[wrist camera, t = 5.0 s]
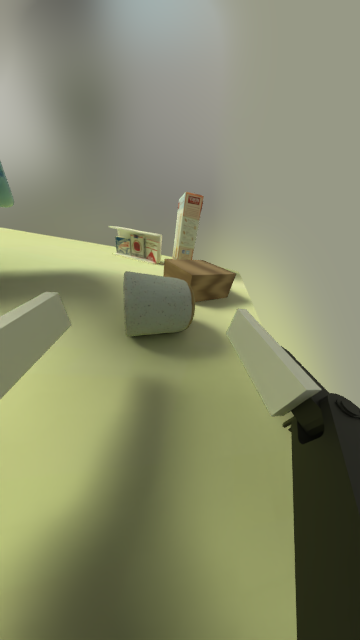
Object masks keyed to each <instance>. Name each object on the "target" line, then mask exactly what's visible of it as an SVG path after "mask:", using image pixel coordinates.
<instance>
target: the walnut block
mask: <svg viewBox="0 0 360 640" xmlns="http://www.w3.org/2000/svg"><path fill="white" fill-rule="evenodd" d="M235 275H236V274H235V273H233V272H230V271H228V270H225V269H223V268H220V267H218V266H216V265H213V264H211V263H208V262H206V261H203V260H180V259H165V263H164V277H172V278H178V279H181V280H184V281H186V282H188V283H189V285H190V286H191V288H192V290H193V293H194V298H195V302H198V301H205V300H212V299H218V298H225V297H227V296H228V294H229V291H230V289H231V286H232V283H233V281H234V278H235Z"/></svg>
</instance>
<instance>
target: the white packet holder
mask: <svg viewBox="0 0 360 640" xmlns="http://www.w3.org/2000/svg"><path fill="white" fill-rule="evenodd" d="M109 227H110V228H115V229H118V236H116V237H115V240H116V249H117V253H112V254H114V255H118V256H122V257H126V258H130V259H134V260H138V261H142V262H146V263H150V264H156V263H159V262H161V243H162V235H159V234H153V233H149V232H143V231H138V230H133V229H127V228H122V227H115V226H109Z"/></svg>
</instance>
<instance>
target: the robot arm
mask: <svg viewBox="0 0 360 640" xmlns="http://www.w3.org/2000/svg"><path fill="white" fill-rule="evenodd" d="M13 204H14V200H13V196H12V193H11V190H10V187H9V184H8V182H7V179H6V176H5V173H4V170H3V167H2V165H1V162H0V207H11V206H13ZM70 326H71V322H70V320H69V317H68V315H67V312H66V310H65V307H64V305H63V303H62V300H61V298H60V295H59V293H56V292H44V293H42V294H40V295H38V296H37V297H35V298H33V299H31V300H29V301H27V302H26V303H24V304H22V305H20V306H18V307H16V308H15V309H13V310H11V311H9V312H7V313H5V314H4V315H2V316H0V399H1V398H2V397H3V396H4V395H5V394H6V393H7V392H8V391H9V390H10V389H11V388H12V387H13V386H14V385H15V384H16V383H17V382H18V380H19V379H20V378H21V377H22V376H23V375H24V374H25V373H26V372H27V371H28V370H29V369H30V368H31V367H32V366H33V365H34V364H35V363H36V362H37V361H38V360H39V359H40V358H41V356H42V355H43V354H44V353H45V352H46V351H47V350H48V349H49V348H50V347H51V346H52V345H53V344H54V343H55V342H56V341H57V340H58V339H59V338H60V337H61V336H62V335H63V333H64V332H65V331H66V330H67V329H68V328H69V327H70ZM226 335H227V336H228V338H229V340H230V342H231V344H232V346H233V347H234V349H235V351H236V353H237V355H238V357H239V358H240V360H241V362H242V364H243V366H244V368H245V369H246V371H247V373H248V375H249V377H250V378H251V380H252V382H253V384H254V386H255V388H256V389H257V391H258V393H259V395H260V397H261V399H262V400H263V402H264V404H265V406H266V408H267V410H268V411H269V413H270V415H271V416H284V415H285V414H287V413H288V412H290V411H291V412H292V413H293V415H294V417H292V418H291V419H289V420H287V421H286V422H284V423H283V427H284V428H285V427H287V426H289V425H291V428H289V429H288V430H289V431H290V432H292V469H293V506H294V543H295V579H296V616H297V640H360V409H359V408H358V407H357V406H356V405H355V404H353V403H352V402H351V401H349V400H348V399H346V398H344V397H343V396H340V395H338V394H333V393H329V392H328V391H327V390H326V389H324V387H323V386H322V385H321V384H320V383H319V382H317V380H316V379H315V378H314V377H313V376H312V375H311V374H310V373H309V372H308V371H307V370H306V369H305V368H304V367H303V366H302V365H301V364H300V363H299V362H298V361H297V360H296V359H295V357H294V356H293V355H292V354H291V353H290V352H289V351H287V350H286V349H284V348H283V347H282V346H280V345H279V344H278V343H277V342H276V341H275V340H274V339H273V338H272V336H271V335H269V333H268V332H267V331H266V330H265V329H264V328H263V327H262V326H261V325H260V324H259V323H258V322H257V321H256V320H255V318H254V317H253V316H252V315H251V314H250V313H249V312H248V311H247V310H246V309H237V311H236V313H235V315H234V317H233V319H232V322H231V324H230V326H229V328H228V330H227V333H226Z"/></svg>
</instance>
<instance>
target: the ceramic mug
mask: <svg viewBox="0 0 360 640" xmlns="http://www.w3.org/2000/svg"><path fill="white" fill-rule="evenodd" d="M123 288H124V315H125V331H126V336H138V335H150V334H160V333H173V332H179V331H183V330H185V329H187V328H188V327H189V325H190V324H191V322H192V320H193V317H194V311H195V298H194V293H193V290H192V288H191V286H190V285H189V283H188V282H186V281H184V280H181V279H178V278H172V277H162V276H156V275H149V274H142V273H135V272H128V271H127V272H125V273H124V286H123Z"/></svg>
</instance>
